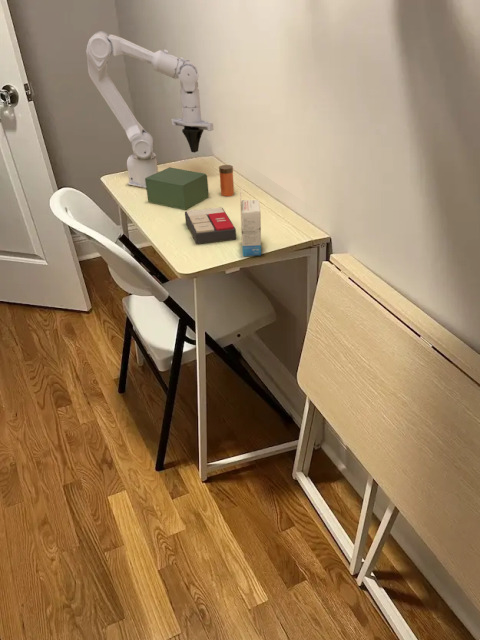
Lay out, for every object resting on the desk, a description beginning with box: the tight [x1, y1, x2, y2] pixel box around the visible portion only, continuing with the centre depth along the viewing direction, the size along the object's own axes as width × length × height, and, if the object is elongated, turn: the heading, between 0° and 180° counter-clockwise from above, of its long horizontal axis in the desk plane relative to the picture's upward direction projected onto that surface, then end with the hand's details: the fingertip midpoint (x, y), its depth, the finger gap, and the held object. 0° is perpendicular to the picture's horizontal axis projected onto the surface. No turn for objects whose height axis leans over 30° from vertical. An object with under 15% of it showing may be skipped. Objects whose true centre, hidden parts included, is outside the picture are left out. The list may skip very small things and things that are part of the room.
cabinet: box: [145, 166, 209, 211], centre depth 175 cm, size 12×14×7 cm
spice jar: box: [218, 164, 235, 197], centre depth 179 cm, size 4×4×8 cm
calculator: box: [184, 206, 237, 245], centre depth 156 cm, size 11×4×15 cm
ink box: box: [239, 188, 262, 257], centre depth 143 cm, size 9×5×15 cm, turn 5°
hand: (194, 151), depth 185 cm, fingers closed
